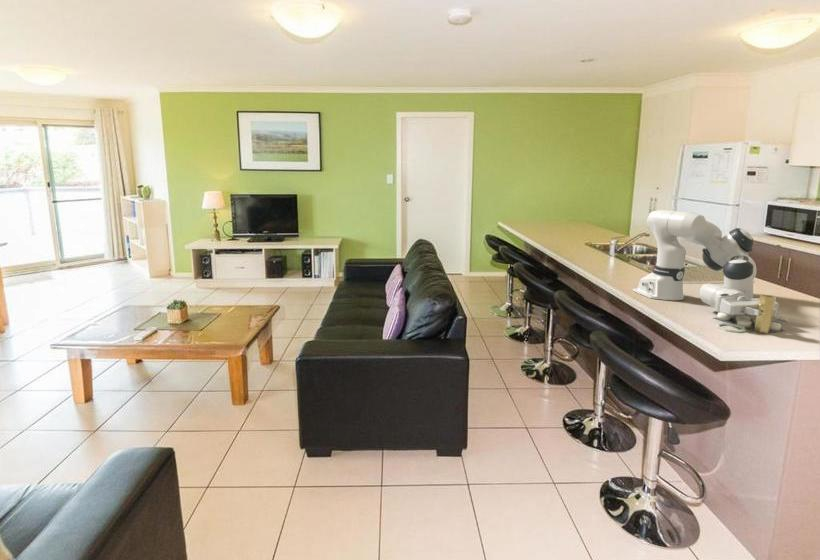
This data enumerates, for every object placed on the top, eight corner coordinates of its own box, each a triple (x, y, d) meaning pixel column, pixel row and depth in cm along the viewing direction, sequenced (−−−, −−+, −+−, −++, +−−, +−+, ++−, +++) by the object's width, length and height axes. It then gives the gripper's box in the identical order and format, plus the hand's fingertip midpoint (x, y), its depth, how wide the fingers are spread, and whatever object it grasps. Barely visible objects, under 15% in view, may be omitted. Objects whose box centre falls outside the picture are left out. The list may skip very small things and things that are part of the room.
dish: (710, 328, 183) (711, 324, 183) (728, 325, 186) (728, 321, 185) (732, 335, 175) (733, 331, 175) (750, 333, 178) (751, 329, 177)
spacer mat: (711, 320, 192) (712, 313, 192) (734, 316, 196) (735, 310, 196) (762, 336, 174) (763, 329, 173) (786, 332, 178) (787, 325, 177)
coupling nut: (752, 331, 177) (758, 295, 174) (757, 328, 180) (763, 293, 177) (766, 334, 174) (773, 298, 171) (770, 331, 177) (777, 296, 174)
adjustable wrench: (735, 307, 211) (735, 303, 211) (750, 307, 211) (751, 303, 210) (773, 325, 187) (774, 321, 186) (791, 326, 186) (792, 321, 186)
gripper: (757, 308, 190) (790, 319, 177) (711, 311, 187) (741, 322, 174) (760, 292, 189) (794, 302, 176) (713, 295, 185) (744, 305, 172)
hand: (767, 312), depth 175 cm, fingers open, 5 cm apart
